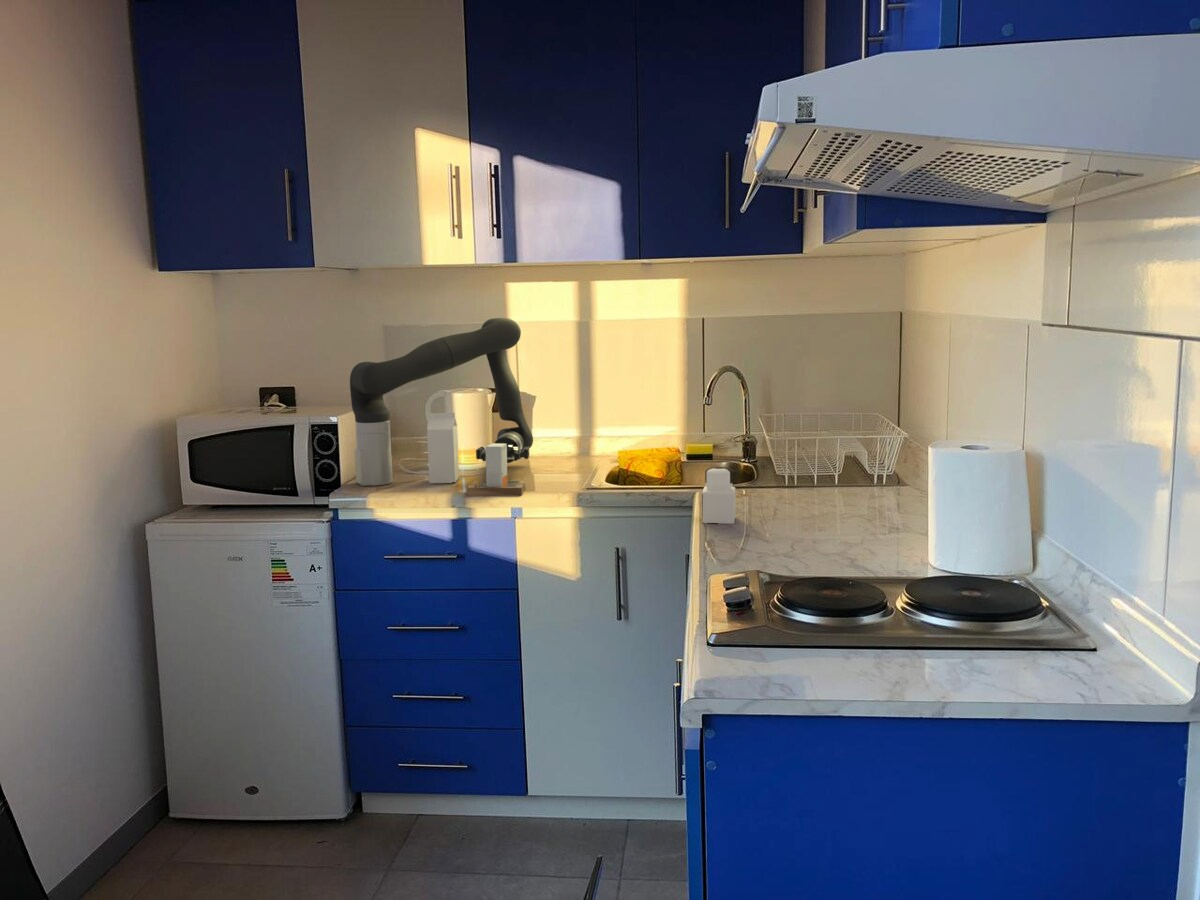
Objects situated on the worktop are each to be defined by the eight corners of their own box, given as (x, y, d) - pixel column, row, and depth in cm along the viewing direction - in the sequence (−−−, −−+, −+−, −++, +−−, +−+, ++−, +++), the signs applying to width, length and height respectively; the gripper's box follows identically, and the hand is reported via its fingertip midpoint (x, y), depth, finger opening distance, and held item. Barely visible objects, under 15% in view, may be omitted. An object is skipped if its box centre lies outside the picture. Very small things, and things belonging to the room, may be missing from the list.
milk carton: (455, 483, 286) (452, 414, 283) (429, 484, 286) (426, 414, 283) (459, 478, 293) (456, 411, 290) (433, 479, 293) (431, 411, 290)
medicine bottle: (703, 516, 240) (703, 465, 238) (735, 517, 239) (735, 465, 237) (701, 523, 233) (701, 470, 232) (734, 524, 232) (734, 470, 230)
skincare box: (502, 492, 270) (501, 446, 268) (486, 492, 271) (484, 446, 269) (508, 488, 276) (507, 443, 274) (492, 488, 277) (491, 443, 275)
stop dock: (478, 482, 287) (477, 475, 287) (529, 482, 287) (528, 474, 286) (467, 496, 269) (466, 488, 268) (521, 495, 268) (521, 487, 268)
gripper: (482, 434, 295) (472, 443, 279) (532, 434, 295) (525, 443, 279) (482, 461, 296) (473, 471, 280) (533, 460, 296) (526, 470, 280)
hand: (499, 457), depth 280 cm, fingers open, 8 cm apart
